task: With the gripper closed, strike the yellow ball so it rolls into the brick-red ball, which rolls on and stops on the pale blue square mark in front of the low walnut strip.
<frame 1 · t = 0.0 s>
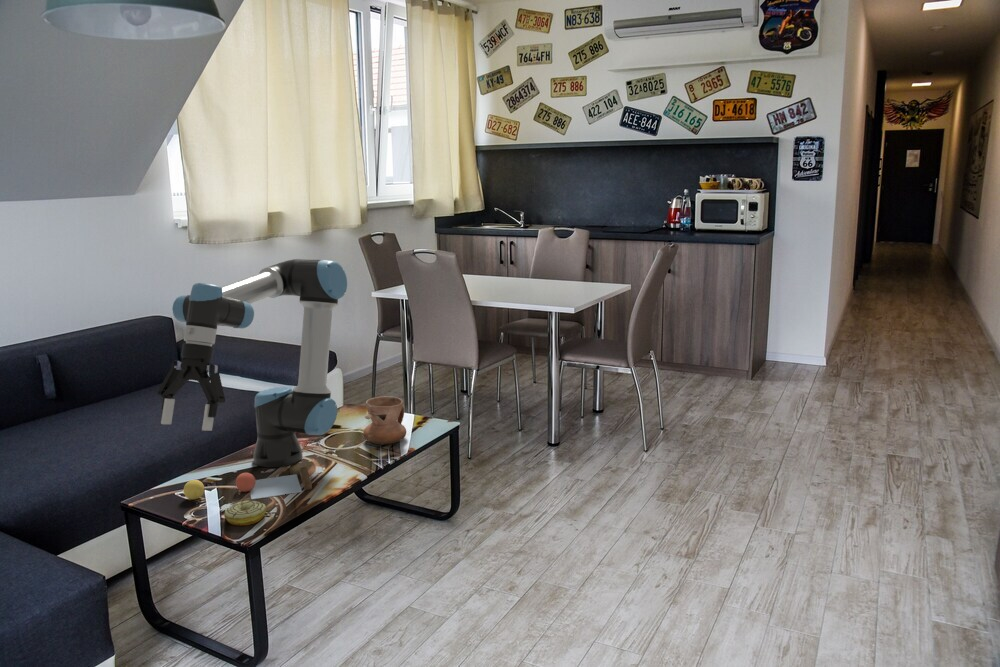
hand: (186, 427, 199), 28 cm above the table, tool tilted 20°, fingers open, 13 cm apart
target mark: (274, 486, 232), on the table
ceramic jug: (386, 440, 270), on the table
yellow ball: (193, 489, 224), on the table
decorated donut: (246, 519, 211), on the table
stopper strip: (306, 482, 235), on the table
object ball: (245, 482, 228), on the table
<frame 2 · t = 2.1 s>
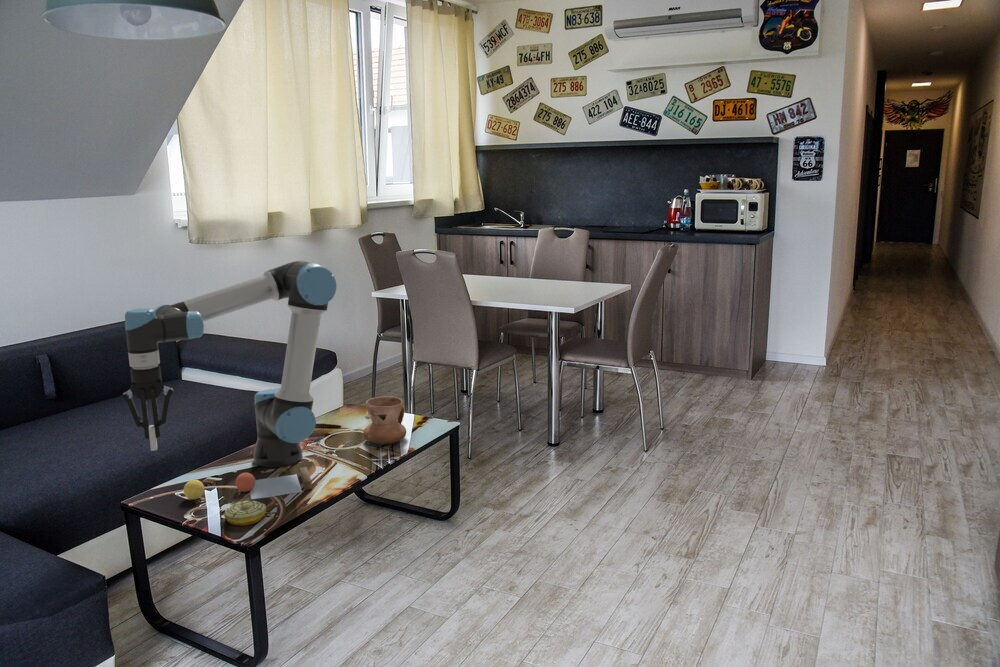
hand: (154, 448, 218), 16 cm above the table, tool pointing down, fingers closed
nothing on the table moved.
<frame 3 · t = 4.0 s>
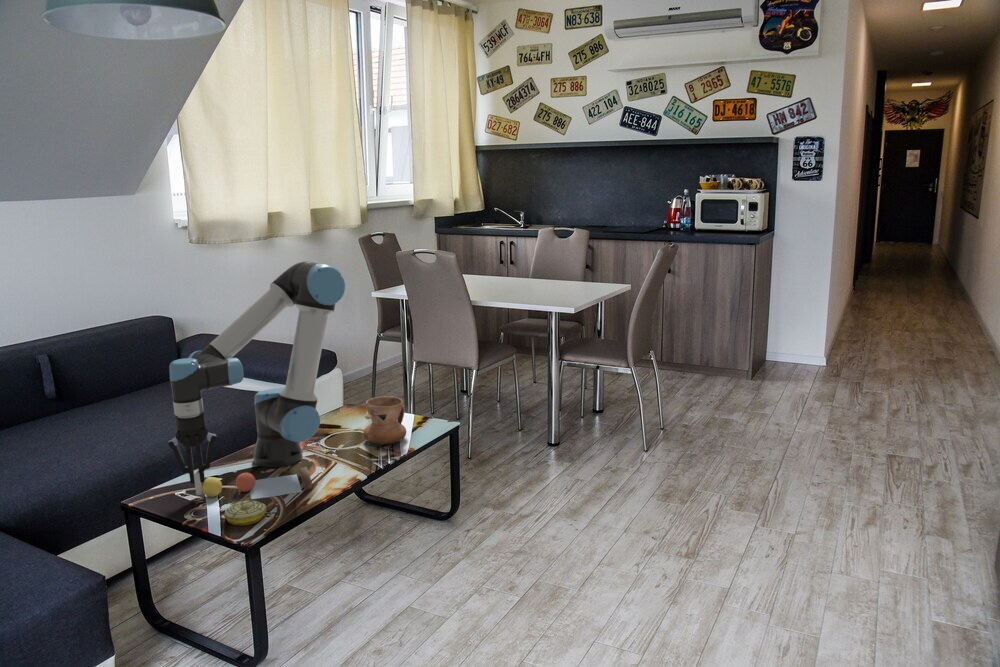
hand: (199, 492, 225), 1 cm above the table, tool pointing down, fingers closed
yellow ball: (211, 487, 225), on the table
everything else where it was.
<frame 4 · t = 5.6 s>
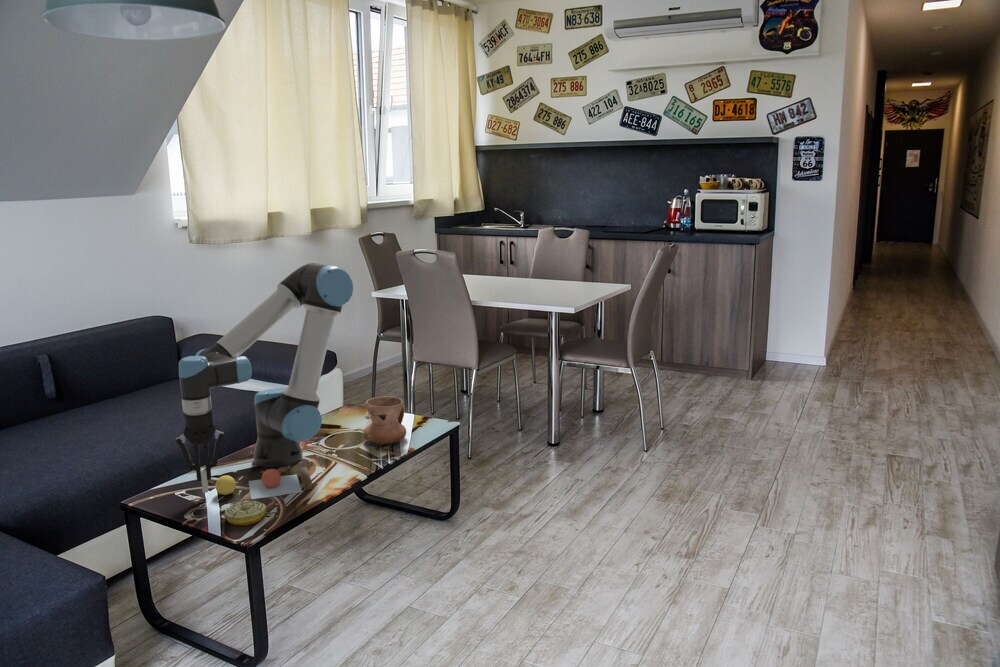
hand: (205, 490, 225), 2 cm above the table, tool pointing down, fingers closed
yellow ball: (225, 485, 226), on the table
object ball: (271, 478, 231), on the table
everything else where it was.
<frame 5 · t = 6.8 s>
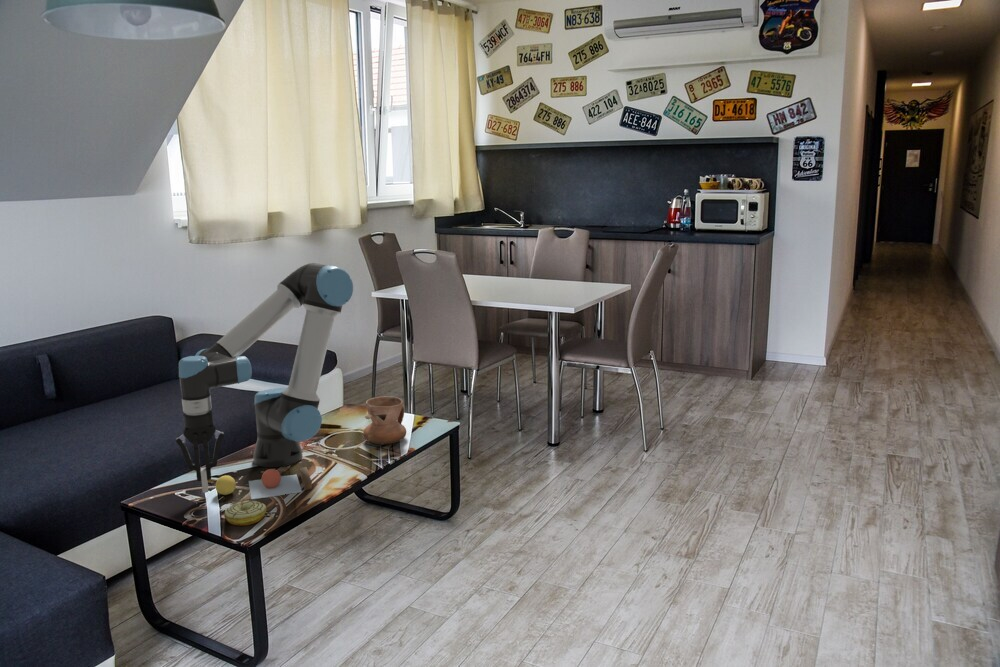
hand: (205, 490, 225), 2 cm above the table, tool pointing down, fingers closed
nothing on the table moved.
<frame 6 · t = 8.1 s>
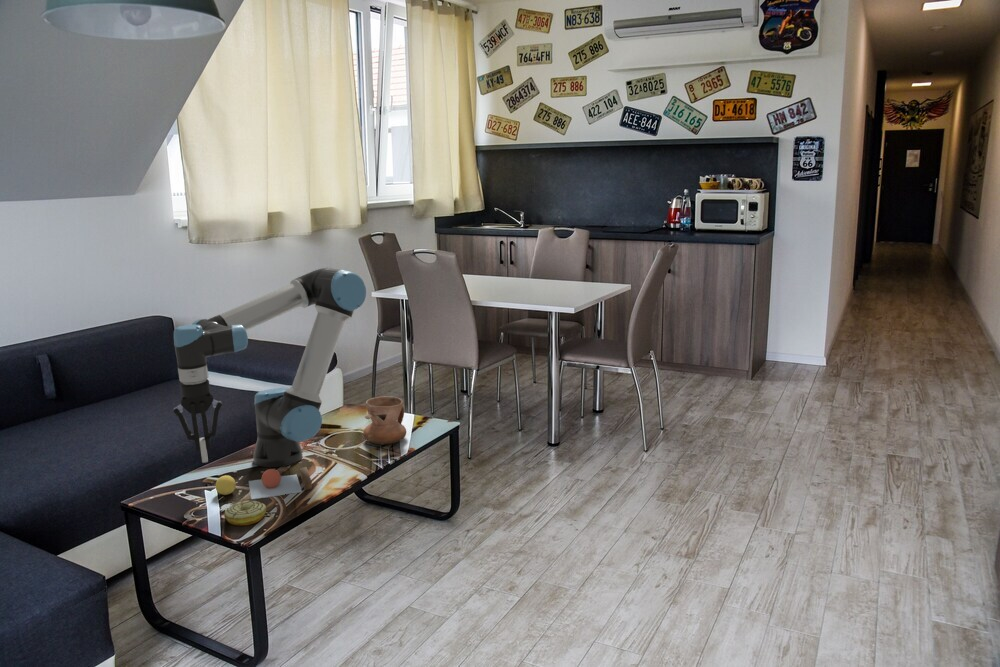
hand: (205, 460, 223), 11 cm above the table, tool pointing down, fingers closed
nothing on the table moved.
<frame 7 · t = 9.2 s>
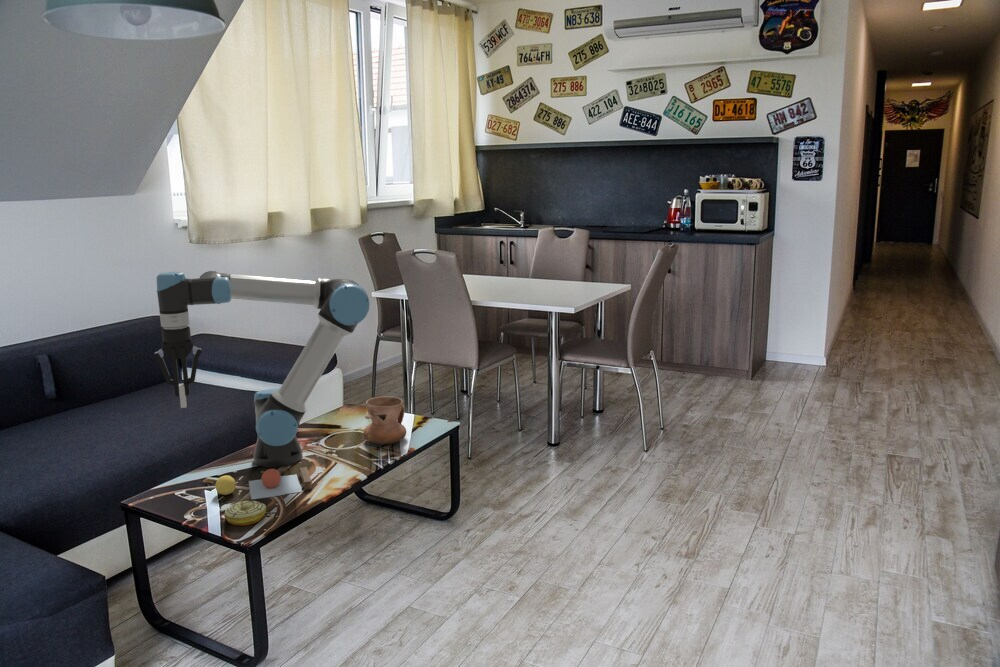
hand: (183, 406, 229), 24 cm above the table, tool pointing down, fingers closed
nothing on the table moved.
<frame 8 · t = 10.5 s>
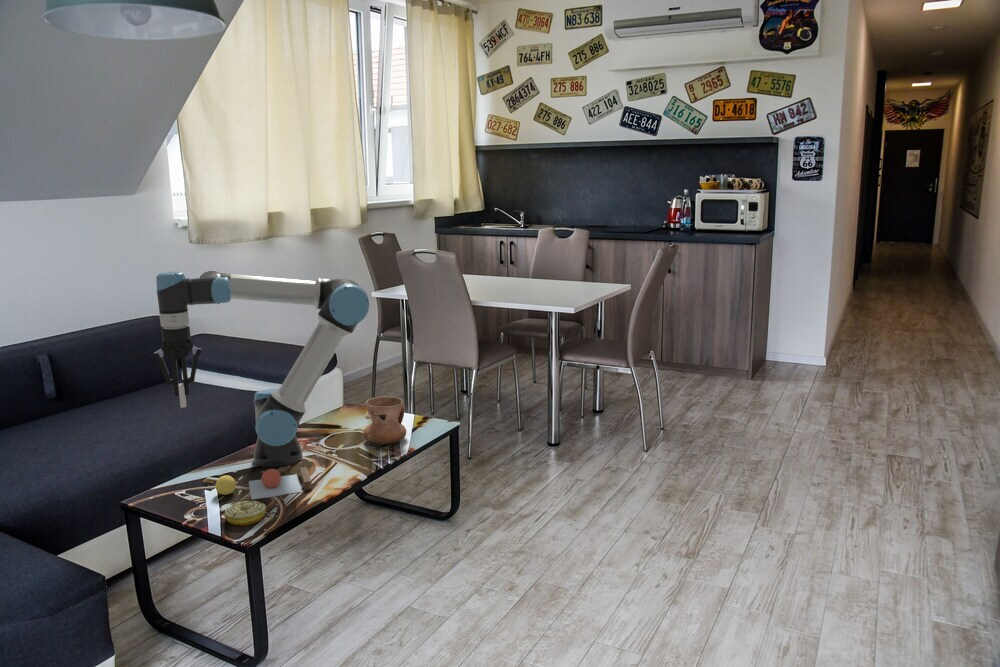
hand: (183, 406, 229), 24 cm above the table, tool pointing down, fingers closed
nothing on the table moved.
at the end: object ball 0.8 cm from the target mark (horizontally); object ball never touched the robot; yellow ball first touched object ball at 4.2 s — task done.
